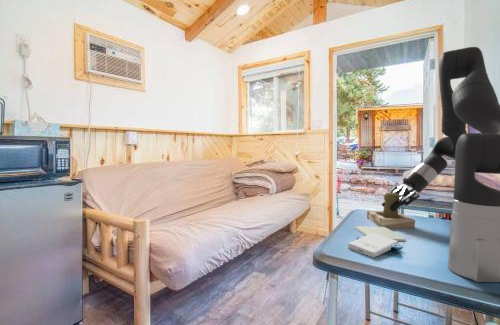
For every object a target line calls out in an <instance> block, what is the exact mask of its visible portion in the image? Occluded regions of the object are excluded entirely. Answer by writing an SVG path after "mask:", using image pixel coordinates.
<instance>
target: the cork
mask: <svg viewBox="0 0 500 325" xmlns="http://www.w3.org/2000/svg"><path fill="white" fill-rule="evenodd" d="M398 198H399V195H398V194H395V193H388V192H385V194H383V200H384V201H385V205H384V207H383V210H382V211H383V215H382V216H383V217H384V218H399V217H398V212H399V208H398V209H397V210H396V211H394V212H393V211H391V210H390V208H389V207H390V206H391V205H392V204H393V203H394V202H395V201H397V200H398Z"/></svg>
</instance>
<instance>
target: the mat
mask: <svg viewBox="0 0 500 325" xmlns="http://www.w3.org/2000/svg"><path fill="white" fill-rule="evenodd" d="M354 228H355V230H357V231H358V232H359V233H361V234H362V235H364V237H365V236H367V235H370V234H372V233H374V234H377V235H380V236H384V237H387V238H390V239H393V240H396V241H398V242H406V241H407V239H406V238H405V237H403V236H401V235H400V234H398V233H396V232H395V231H393V230H391V228H386V227H381V226H359V225H358V226H354Z"/></svg>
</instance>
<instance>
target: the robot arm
mask: <svg viewBox="0 0 500 325" xmlns="http://www.w3.org/2000/svg"><path fill="white" fill-rule="evenodd" d="M488 75H489V74H488V72H487V68H486V64H485V59H484V55H483V51H482V50H481V49H480V47H477V46H469V47H464V48H458V49H453V50H448V51H447V50H446V51H445V52H443V53H442V54H441V55H440V57H439V62H438V80H439V82H438V83H439V93H440V101H441V114H442V115H441V133H442V134H443V135H445V136H446V137H445V136H444V137H442V138H440V139H438V140H437V141H436V143H435V144H434V146H433V148H432V149H431V151H430V153H429V154H428V156H427V157H426V158H425V159H423V161H422V162H420V163H419V164H418V165H416V166H415V167H414V168H413V169H412V170H411V171H409V173H407V175H405V177H404V178H402V181H403V183H402V184H401V185H399V186H397V185H396V184H394V185H393V186H392V187H391V189H389V191H388V192H387V193H395V194H398V196H399V198H398V200H397V201H395V202H394V203H393V204H392V205H391V206H390V207H389V208H390V210H391V211H393V212H394V211H396V210H397V209H398V210H399V208H400V207H402V206H408V205H410V204H411V203H413V202H414V201H416V200H417V199H419V198H420V197H421V195H420V194H419V193H422V192H423V190H425V189H426V188H427V187H428V186H429V185H430V184H431V183H432V182H434V180H435V179H436V178H437V177H438V176H439V175H440V174H441V173H442V172H443V171H444V170H446V168H447V167H448V162H447V160H446V159H445V158H444V157H443V156H445V157H448V158H451V159H453V160H455V161H454V164H455V165H454V180H453V181H454V182H453V183H454V184H453V201H452V211H451V221H450V234H449V244H448V246H449V247H448V258H447V268H448V269H449V270H450V271H452V272H453V273H454V274H456V275H459V276H461V277H464V278H466V279H469V280H472V281H474V282H475V283H476V282H477V283H500V190H499V189H496V188H494V187H490V186H488V185H485V184H483V183H482V182H480V181H478V180H477V179H476V175H475V173H476V174H477V173H478V174H481V173H482V174H492V175H493V174H495V175H500V103H499V100H498V96H497V93H496V90H495V89H494V87H493V84H492V83H491V80H490V79H489V76H488ZM457 79H463V80H462V81H460V82H459V84H457V86H455V87H454V90H453V88H452V84H451V83H452V82H451V80H457ZM466 125H467V126H469V127H471V128H472V129H475V130H476V131H477V132H475V133H474V132H472V133H471V132H470V133H468V132H467V130H466V127H467V126H466ZM384 205H385V200H384V201H383V202H382V203H381V206H382V207H383V208H384Z"/></svg>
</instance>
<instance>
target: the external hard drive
mask: <svg viewBox="0 0 500 325" xmlns="http://www.w3.org/2000/svg"><path fill="white" fill-rule="evenodd" d="M399 242H400V241H396V240H393V239H390V238H387V237H384V236H380V235H377V234H374V233H372V234H370V235H367V236H365V235H364V236H363V237H360V238H358V239H356V240H353V241H351V242H348V243H347V248H348V249H350V250H352V251H355V252H358V253H360V254H362V255H366V256H367V255H368V257H370V258H372V259H373V258H376V257H378V256H380V255H383V254H385V253H387V252H389V251H390V250H392V249H391V246H392V245H394V244H398V245H399Z"/></svg>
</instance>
